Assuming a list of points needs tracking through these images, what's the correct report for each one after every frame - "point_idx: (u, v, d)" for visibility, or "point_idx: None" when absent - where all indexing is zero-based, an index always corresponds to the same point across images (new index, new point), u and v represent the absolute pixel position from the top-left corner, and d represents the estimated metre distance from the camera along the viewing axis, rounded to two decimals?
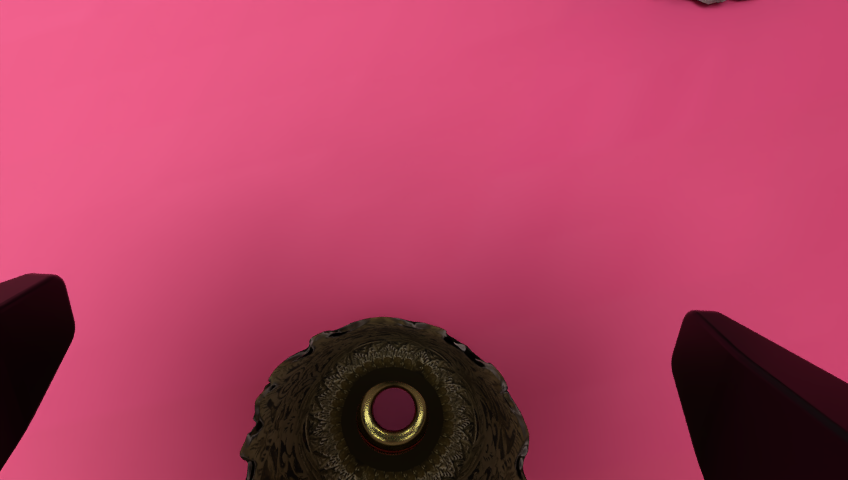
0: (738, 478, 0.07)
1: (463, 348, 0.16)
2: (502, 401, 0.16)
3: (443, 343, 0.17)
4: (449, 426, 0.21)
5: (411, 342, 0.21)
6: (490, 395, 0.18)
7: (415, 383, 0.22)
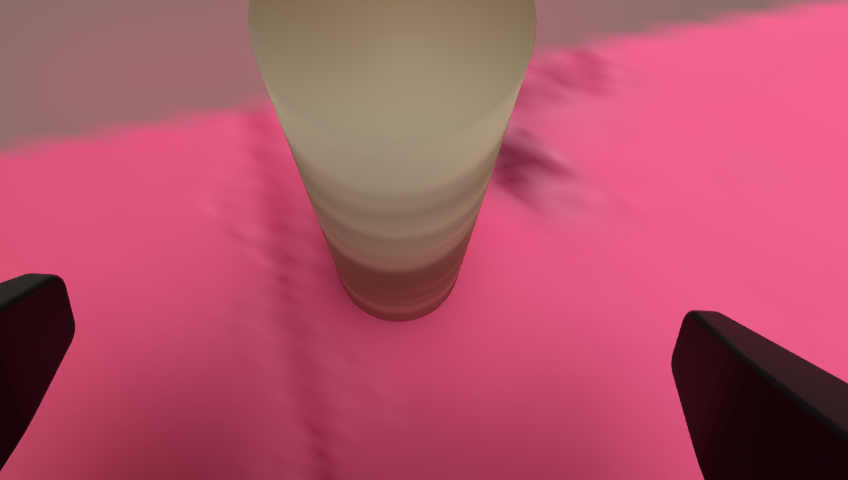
0: (738, 478, 0.07)
1: None
2: None
3: None
4: None
5: None
6: None
7: None
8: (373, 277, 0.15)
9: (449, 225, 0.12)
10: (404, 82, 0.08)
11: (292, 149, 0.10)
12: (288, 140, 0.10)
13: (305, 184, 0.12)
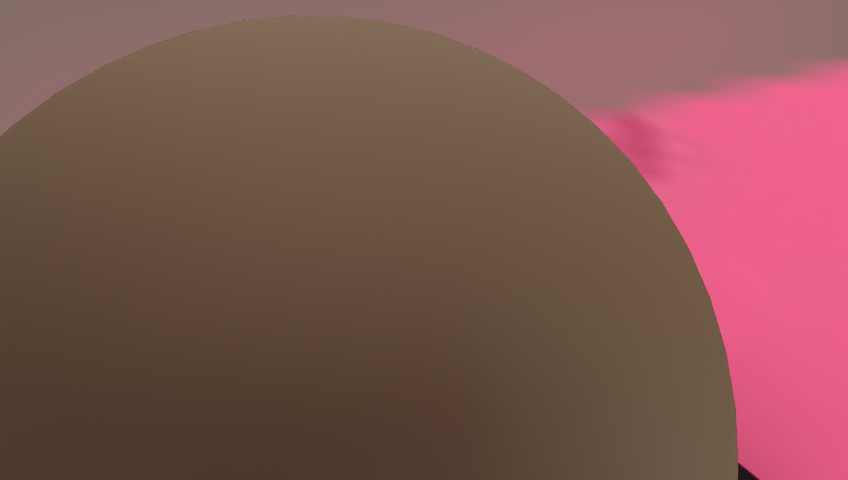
0: None
1: None
2: None
3: None
4: None
5: None
6: None
7: None
8: None
9: None
10: None
11: None
12: None
13: None
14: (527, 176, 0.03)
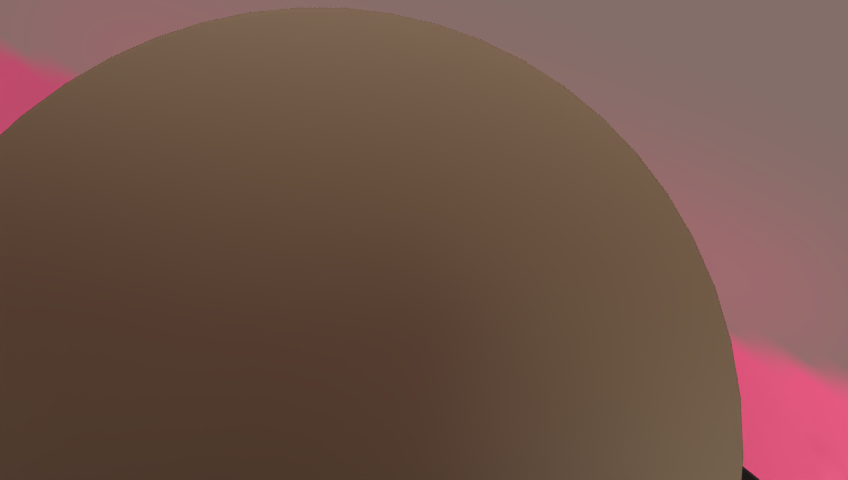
0: None
1: None
2: None
3: None
4: None
5: None
6: None
7: None
8: None
9: None
10: None
11: None
12: None
13: None
14: (533, 167, 0.03)
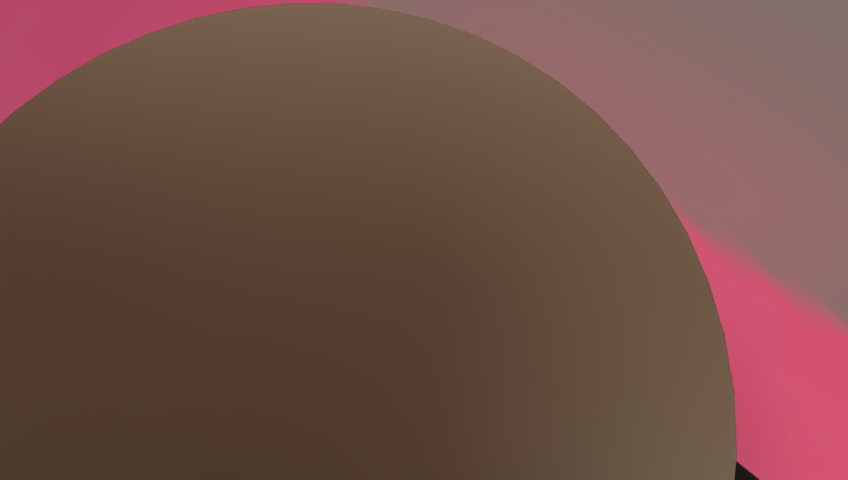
0: None
1: None
2: None
3: None
4: None
5: None
6: None
7: None
8: None
9: None
10: None
11: None
12: None
13: None
14: (526, 162, 0.03)
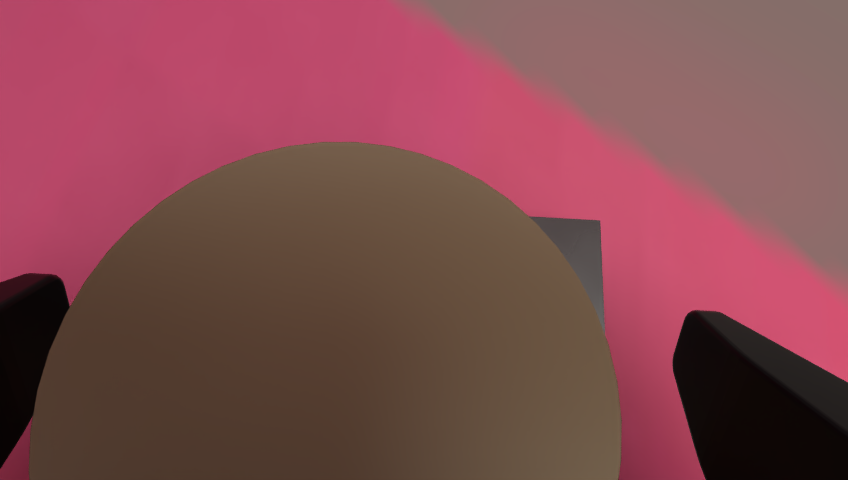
0: (739, 478, 0.07)
1: None
2: None
3: None
4: None
5: None
6: None
7: None
8: None
9: None
10: None
11: None
12: None
13: None
14: (486, 259, 0.05)
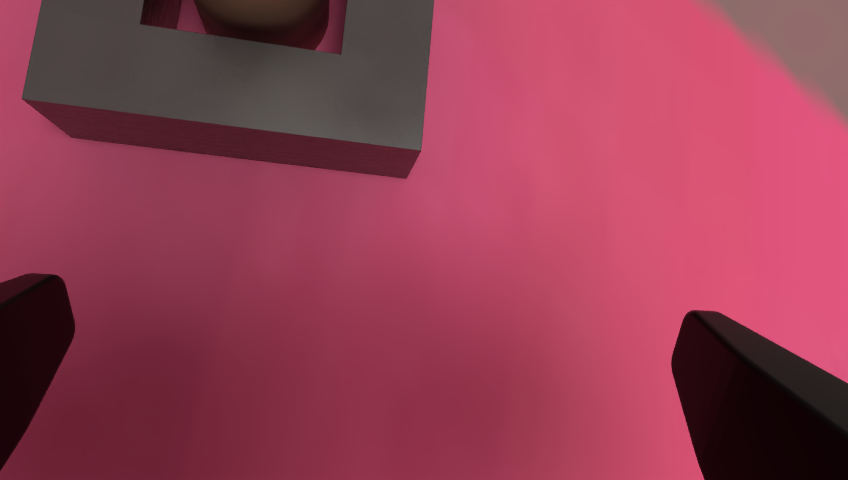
0: (738, 478, 0.07)
1: None
2: None
3: None
4: None
5: None
6: None
7: None
8: None
9: None
10: None
11: None
12: None
13: None
14: None
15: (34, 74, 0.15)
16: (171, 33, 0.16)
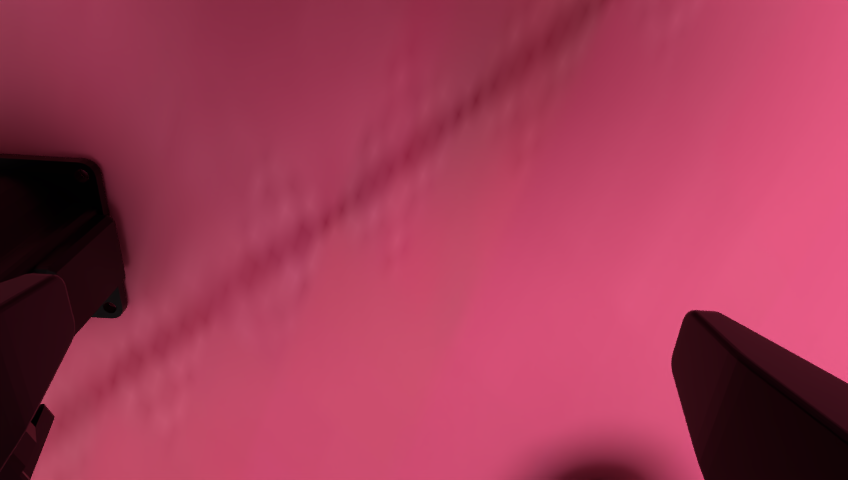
0: (738, 478, 0.07)
1: None
2: None
3: None
4: None
5: None
6: None
7: None
8: None
9: None
10: None
11: None
12: None
13: None
14: None
15: None
16: None
